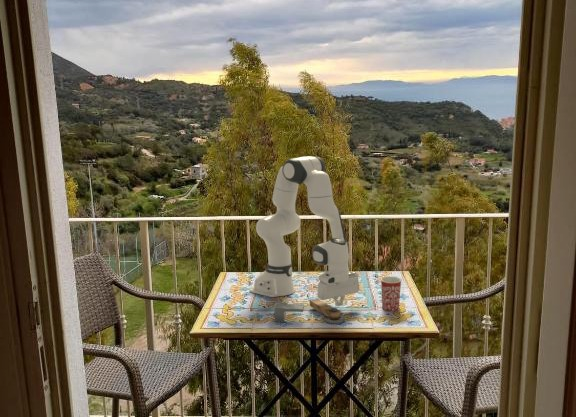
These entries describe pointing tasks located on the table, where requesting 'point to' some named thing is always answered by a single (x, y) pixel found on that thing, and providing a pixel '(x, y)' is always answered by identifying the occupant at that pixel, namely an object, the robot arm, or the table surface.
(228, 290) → the table surface
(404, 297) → the table surface
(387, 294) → the mug
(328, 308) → the walnut link
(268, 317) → the table surface
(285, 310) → the keeper
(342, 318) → the pivot base
